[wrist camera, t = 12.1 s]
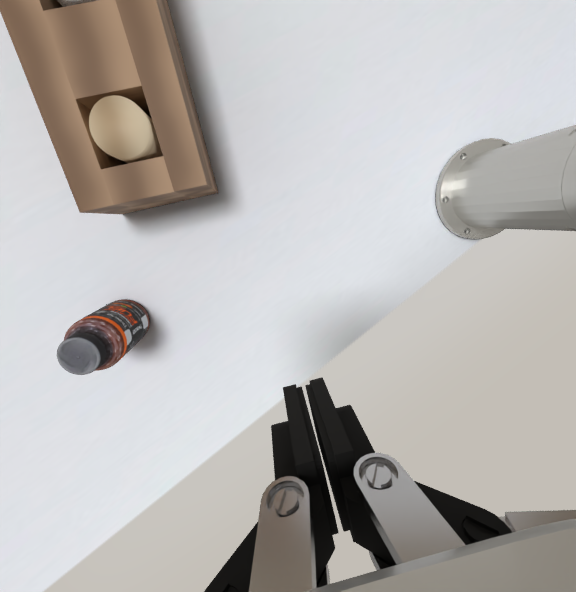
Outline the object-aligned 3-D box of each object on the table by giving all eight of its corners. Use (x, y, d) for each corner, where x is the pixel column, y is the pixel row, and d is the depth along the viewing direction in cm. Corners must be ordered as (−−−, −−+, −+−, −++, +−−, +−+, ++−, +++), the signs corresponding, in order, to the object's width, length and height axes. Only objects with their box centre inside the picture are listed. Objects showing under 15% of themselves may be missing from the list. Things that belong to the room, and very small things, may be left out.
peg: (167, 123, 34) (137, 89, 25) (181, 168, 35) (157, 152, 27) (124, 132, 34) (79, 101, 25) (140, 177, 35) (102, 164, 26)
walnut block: (153, -49, 30) (112, -157, 22) (218, 192, 37) (206, 184, 28) (35, -28, 30) (-56, -130, 21) (122, 214, 36) (79, 212, 27)
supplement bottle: (156, 306, 39) (118, 339, 28) (144, 345, 40) (104, 391, 30) (109, 291, 38) (51, 320, 27) (99, 332, 39) (39, 375, 28)
